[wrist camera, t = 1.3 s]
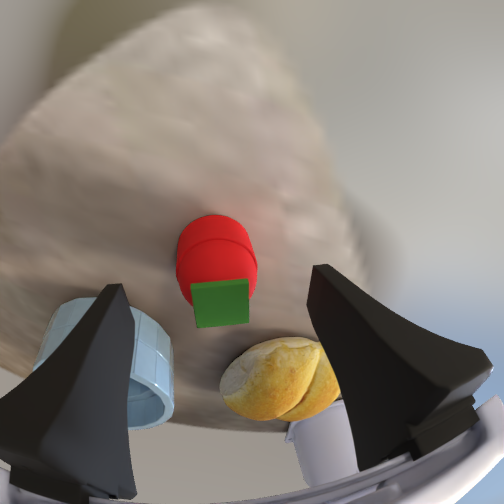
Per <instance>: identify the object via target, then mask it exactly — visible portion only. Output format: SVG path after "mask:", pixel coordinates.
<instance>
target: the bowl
mask: <svg viewBox="0 0 504 504" xmlns="http://www.w3.org/2000/svg"><path fill="white" fill-rule="evenodd" d="M96 298H97V297H88V298H77V299H74V300H71V301H69V302H66V303H64V304H62V305H61V306H60V307H59V308H58V309H57V310H56V311H55V312H54V314H53V315H52V317H51V320H50V322H49V325H48V327H47V330H46V332H45V335H44V338H43V341H42V343H41V346H40V349H39V351H38V354H37V357H36V360H35V363H34V366H33V372H34V371H35V370H36V369H37V368H38V367H39V366H40V365H41V364H42V363H43V362H44V361H45V360H46V359H47V358H48V357H49V356H50V355H51V354H52V353H53V352H54V351H55V349H56V348H57V347H58V346H59V345H60V344H61V343H62V342H63V340H64V339H65V338H66V337H67V335H68V334H69V333H70V332H71V330H72V329H73V328H74V327H75V326H76V324H77V323H78V322H79V321H80V319H81V318H82V317H83V315H84V314H85V313H86V311H87V310H88V309H89V307H90V306H91V305H92V303H93V302H94V301H95V299H96ZM130 309H131V312H132V315H133V317H134V320H135V343H134V352H133V359H132V366H131V373H130V381H129V389H128V400H127V419H128V430H139V429H148V428H152V427H155V426H158V425H160V424H163V423H164V422H166V421H167V420H168V419H169V418H170V417H171V416H172V414H173V410H174V350H173V347H172V343H171V340H170V337H169V336H168V334H167V333H166V332H165V331H164V329H163V328H162V327H161V326H160V324H158V322H156V321H155V320H153V319H152V318H151V317H149V316H148V315H146V314H145V313H144V312H142V311H140V310H138V309H136V308H134V307H131V306H130Z"/></svg>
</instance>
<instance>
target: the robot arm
mask: <svg viewBox="0 0 504 504" xmlns="http://www.w3.org/2000/svg"><path fill="white" fill-rule="evenodd" d="M306 305H307V308H308V312H309V315H310V318H311V321H312V325H313V327H314V330H315V332H316V334H317V336H318V338H319V341H320V343H321V345H322V347H323V349H324V351H325V354H326V356H327V358H328V360H329V362H330V365H331V367H332V369H333V371H334V374H335V376H336V379H337V382H338V385H339V388H340V391H341V394H342V398H343V399H342V400H338V401H335V402H333V403H332V404H331V405H330V406H328V407H327V408H326V409H325V410H323V411H321V412H320V413H318V414H316V415H314V416H313V417H311V418H307V419H304V420H300V421H294V422H290V425H289V428H288V431H287V434H286V437H285V443H290V442H293V443H294V446H295V450H296V453H297V457H298V460H299V464H300V467H301V471H302V474H303V478H304V480H305V482H306V483H307V484H308V486H310V488H307V489H303V490H299V491H295V492H290V493H285V494H280V495H275V496H270V497H264V498H258V499H251V500H244V501H235V502H226V503H212V504H454V503H455V502H457V501H458V500H459V499H460V498H461V497H462V496H464V495H465V494H466V493H467V492H468V491H469V490H470V489H471V488H473V487H474V486H475V485H476V484H477V483H478V482H479V481H480V480H481V479H482V478H483V477H484V476H485V475H486V474H487V473H488V472H489V471H490V470H491V469H492V468H493V467H494V466H495V465H496V464H497V463H498V462H499V460H501V459H502V458H503V457H504V405H503V403H502V401H501V400H500V398H499V397H498V395H494V396H493V397H492V398H490V399H489V400H488V401H487V402H485V403H484V404H482V405H481V406H480V407H478V408H477V409H476V410H474V408H473V406H472V405H473V404H474V403H475V399H474V397H473V396H472V395H473V393H475V391H476V390H477V389H478V388H479V387H480V386H481V385H482V384H483V383H484V382H485V381H486V379H487V378H488V377H489V375H490V374H491V373H492V371H493V365H492V363H491V362H490V360H489V359H488V357H487V356H486V354H485V353H484V351H483V350H482V349H479V348H475V347H471V346H468V345H464V344H461V343H458V342H455V341H452V340H449V339H447V338H444V337H441V336H439V335H437V334H434V333H432V332H430V331H428V330H426V329H424V328H422V327H419V326H417V325H416V324H414V323H412V322H410V321H408V320H407V319H405V318H403V317H401V316H400V315H398V314H396V313H395V312H393V311H391V310H390V309H388V308H387V307H385V306H384V305H382V304H381V303H379V302H378V301H377V300H375V299H374V298H372V297H371V296H370V295H368V294H367V293H365V292H364V291H363V290H361V289H360V288H359V287H358V286H356V285H355V284H354V283H352V282H351V281H350V280H348V279H347V278H346V277H345V276H343V275H342V274H341V273H339V272H338V271H337V270H335V269H334V268H333V267H331V266H330V265H328V264H322V265H313V269H312V275H311V281H310V287H309V293H308V299H307V304H306ZM134 343H135V320H134V317H133V315H132V312H131V309H130V306H129V303H128V300H127V297H126V294H125V291H124V288H123V285H122V283H121V284H108V285H107V286H106V287H105V288H104V289H103V290H102V292H101V293H100V294H99V296H98V297H97V298H96V299H95V301H94V302H93V303H92V305H91V306H90V307H89V309H88V310H87V311H86V313H85V314H84V315H83V317H82V318H81V319H80V321H79V322H78V323H77V324H76V326H75V327H74V328H73V329H72V330H71V332H70V333H69V334H68V335H67V337H66V338H65V339H64V340H63V342H62V343H61V344H60V345H59V346H58V347H57V348H56V349H55V351H54V352H53V353H52V354H51V355H50V356H49V357H48V358H47V359H46V360H45V361H44V362H43V363H42V364H41V365H40V366H39V367H38V368H37V369H36V370H35V371H34V372H32V373H31V374H30V375H29V376H28V377H27V378H26V379H25V380H24V381H23V382H21V383H20V384H19V385H18V386H17V387H15V388H14V389H13V390H11V391H10V392H9V393H8V394H6V395H5V396H3V397H2V398H1V399H0V459H1V460H3V461H4V462H6V463H8V464H9V465H11V471H8V470H5V469H3V468H1V467H0V504H145V503H133V502H123V501H114V500H109V498H110V499H118V498H119V499H128V500H131V499H133V498H134V497H135V496H136V495H137V491H136V486H135V481H134V476H133V471H132V465H131V458H130V449H129V438H128V419H127V400H128V389H129V381H130V373H131V366H132V359H133V352H134Z"/></svg>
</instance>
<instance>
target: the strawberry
mask: <svg viewBox="0 0 504 504" xmlns="http://www.w3.org/2000/svg"><path fill="white" fill-rule="evenodd" d="M176 277H177V280H178V282H179V286H180V289H181V292H182V294H183V296H184V297H185V299H186V300H187V301H188V302H189V304H190V305H191V306H193V307H194V313H195V319H196V324H197V328H205V327H216V326H226V325H235V324H244V323H249V299H250V298H251V296H252V294H253V292H254V290H255V286H256V282H257V261H256V258H255V255H254V251H253V248H252V245H251V242H250V239H249V236H248V234H247V232H246V230H245V229H244V228H243V226H242V225H241V224H240V223H238V222H237V221H235V220H233V219H231V218H229V217H226V216H221V215H210V216H205V217H201V218H199V219H197V220H195V221H193V222H192V223H190V224H189V225H188V226H187V227H186V228H185V229H184V230H183V232H182V233H181V235H180V238H179V241H178V249H177V263H176Z"/></svg>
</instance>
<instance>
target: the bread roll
mask: <svg viewBox="0 0 504 504" xmlns="http://www.w3.org/2000/svg"><path fill="white" fill-rule="evenodd" d="M219 387H220V392H221V394H222V395H223V400H224V402H225V403H226V405H227V406H228V407H229V408H230V409H231V410H233V411H234V412H236V413H237V414H239V415H241V416H244V417H247V418H249V419H253V420H258V421H265V420H271V419H274V418H276V419H279V420H283V421H288V422H294V421H300V420H304V419H307V418H311V417H313V416H314V415H316V414H318V413H320V412H321V411H323V410H325V409H326V408H327V407H328V406H330V405H331V404H332V403H333V402H334V400H335V399H336V398H337V397H338V395H339V394H340V392H341V391H340V388H339V385H338V382H337V379H336V376H335V374H334V371H333V369H332V367H331V365H330V362H329V360H328V358H327V356H326V354H325V351H324V349H323V347H322V345H321V343H320V342H314V341H312V340H309V339H307V338H303V337H282V338H277V339H273V340H268V341H264V342H262V343H259V344H256V345H254V346H252V347H251V348H249V349H248V350H246V351H245V352H244V353H243V354H242V355H241V356H239V357H238V358H236V359H235V360H234V361H233V362H232V363H231V364H230V366H229V367H228V368H227V369H226V371H225V372H224V374H223V376H222V377H221V381H220V386H219Z"/></svg>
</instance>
